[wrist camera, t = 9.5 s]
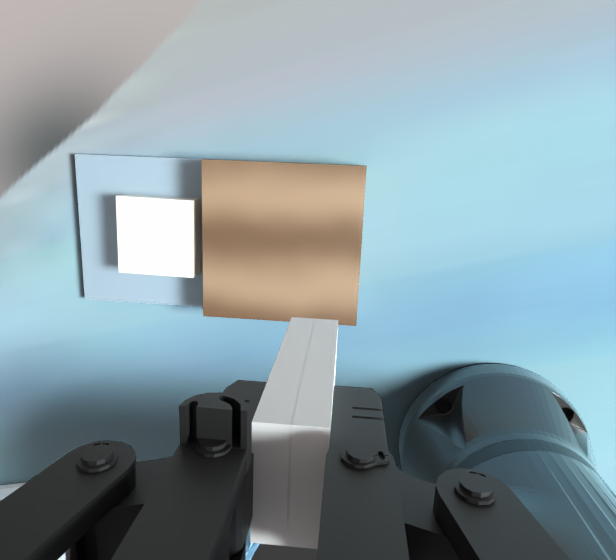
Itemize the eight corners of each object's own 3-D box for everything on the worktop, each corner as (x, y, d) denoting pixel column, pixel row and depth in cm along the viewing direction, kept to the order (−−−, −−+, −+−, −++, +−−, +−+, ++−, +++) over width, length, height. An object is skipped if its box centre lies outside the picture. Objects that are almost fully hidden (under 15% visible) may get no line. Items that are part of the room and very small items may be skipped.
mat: (213, 305, 42) (211, 307, 41) (88, 297, 42) (84, 299, 42) (212, 159, 39) (210, 159, 38) (78, 154, 40) (74, 154, 39)
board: (355, 314, 41) (356, 325, 38) (213, 305, 42) (203, 316, 39) (365, 165, 38) (366, 166, 35) (212, 159, 39) (201, 159, 36)
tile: (200, 272, 40) (192, 277, 38) (129, 267, 41) (118, 272, 39) (200, 198, 39) (192, 200, 37) (127, 194, 39) (115, 195, 37)
